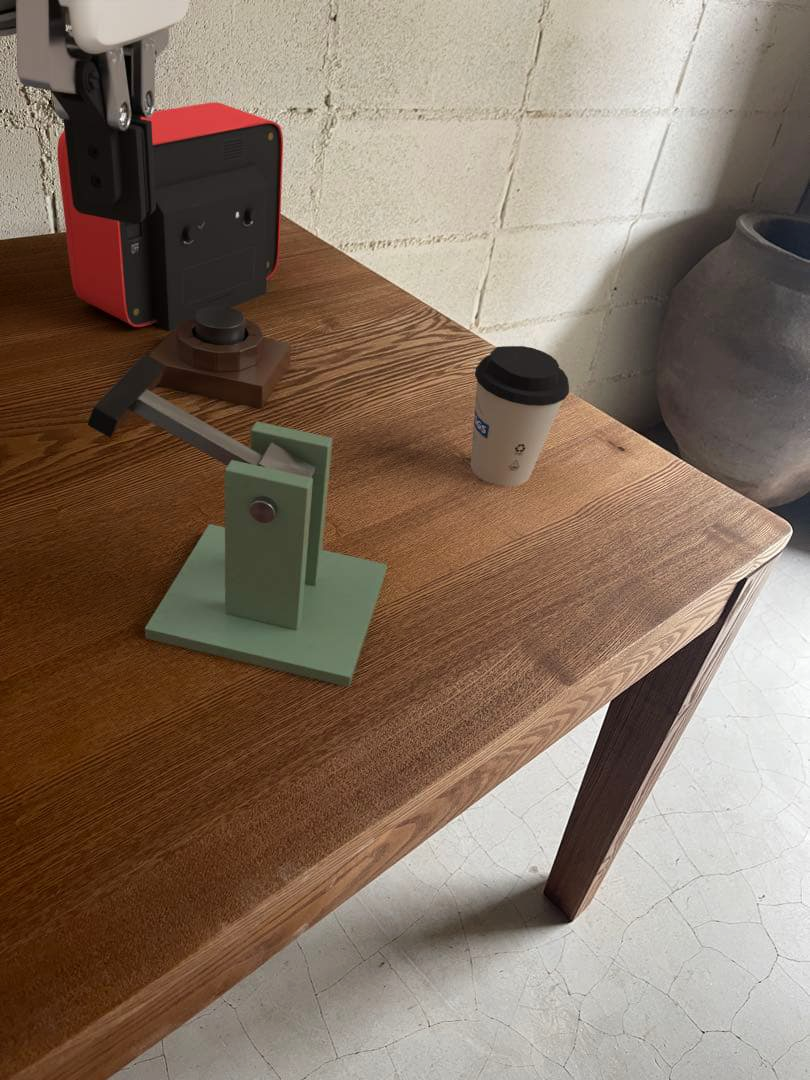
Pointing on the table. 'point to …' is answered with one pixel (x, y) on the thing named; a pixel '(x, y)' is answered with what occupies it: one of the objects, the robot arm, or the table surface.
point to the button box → (223, 365)
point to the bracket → (273, 573)
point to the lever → (180, 421)
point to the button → (220, 325)
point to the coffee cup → (514, 412)
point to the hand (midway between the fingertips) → (115, 212)
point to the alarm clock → (186, 221)
